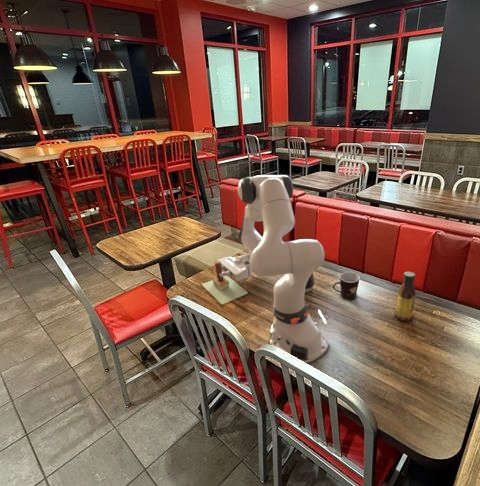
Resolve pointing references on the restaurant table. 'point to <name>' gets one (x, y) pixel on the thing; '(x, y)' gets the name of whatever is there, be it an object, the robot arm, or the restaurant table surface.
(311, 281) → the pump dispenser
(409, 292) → the sauce bottle
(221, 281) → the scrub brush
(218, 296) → the scrub mat
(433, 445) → the restaurant table surface
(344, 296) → the coffee mug
